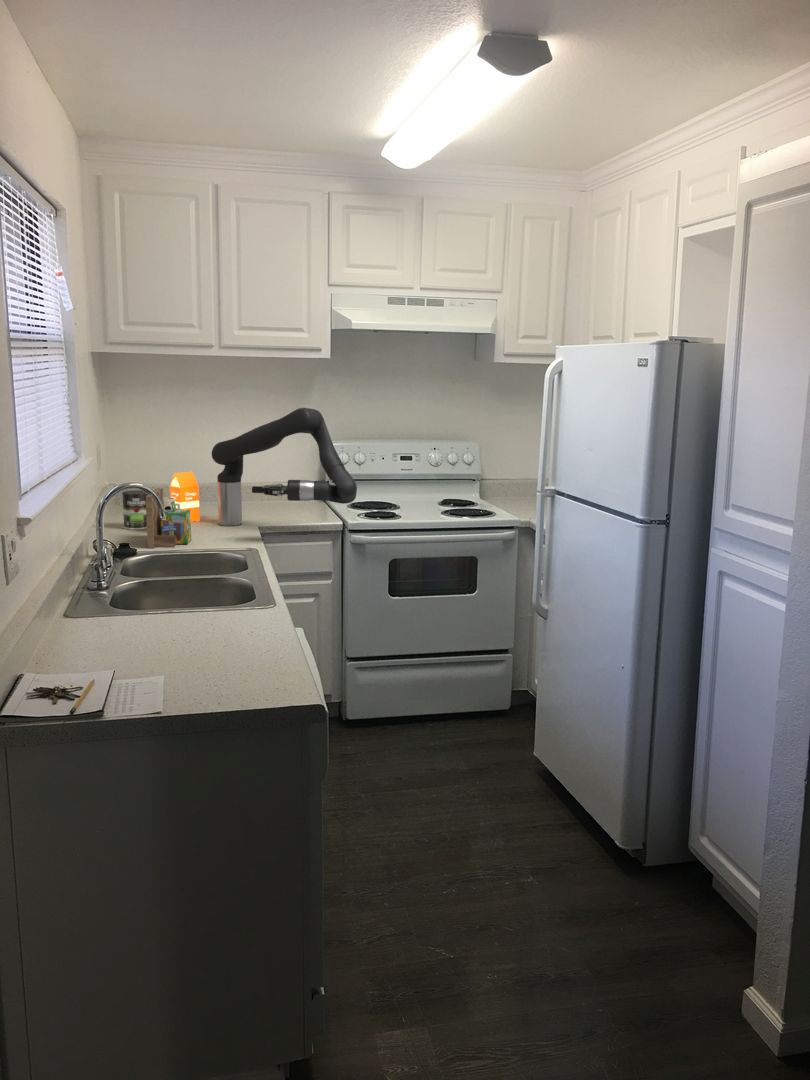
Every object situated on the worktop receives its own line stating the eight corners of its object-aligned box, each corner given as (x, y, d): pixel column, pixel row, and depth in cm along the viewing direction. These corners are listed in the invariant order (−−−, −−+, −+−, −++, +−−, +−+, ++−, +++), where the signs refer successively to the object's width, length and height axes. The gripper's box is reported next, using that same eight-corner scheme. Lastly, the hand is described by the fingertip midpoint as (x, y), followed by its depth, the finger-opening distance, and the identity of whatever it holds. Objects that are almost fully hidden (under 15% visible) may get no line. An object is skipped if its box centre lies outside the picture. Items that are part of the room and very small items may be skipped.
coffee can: (151, 529, 334) (149, 493, 332) (123, 530, 332) (121, 493, 329) (151, 525, 344) (150, 489, 342) (124, 526, 342) (122, 490, 339)
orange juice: (170, 521, 354) (168, 472, 350) (189, 518, 360) (187, 471, 356) (181, 523, 348) (179, 474, 345) (200, 521, 355) (198, 472, 351)
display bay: (159, 536, 320) (157, 488, 316) (184, 536, 320) (182, 488, 317) (147, 548, 298) (145, 496, 295) (174, 548, 299) (172, 496, 296)
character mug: (149, 534, 325) (148, 499, 322) (154, 530, 332) (153, 497, 329) (178, 534, 325) (177, 500, 323) (183, 531, 332) (182, 497, 330)
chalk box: (187, 545, 305) (185, 503, 302) (161, 545, 304) (159, 503, 302) (192, 540, 314) (190, 499, 311) (166, 540, 313) (165, 499, 311)
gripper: (301, 477, 316) (253, 476, 314) (300, 482, 303) (250, 481, 301) (301, 497, 317) (253, 497, 316) (300, 503, 305) (250, 502, 303)
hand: (252, 489), depth 309 cm, fingers closed
